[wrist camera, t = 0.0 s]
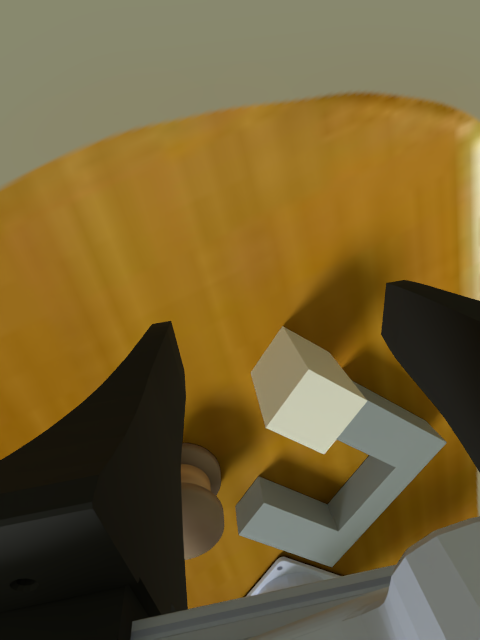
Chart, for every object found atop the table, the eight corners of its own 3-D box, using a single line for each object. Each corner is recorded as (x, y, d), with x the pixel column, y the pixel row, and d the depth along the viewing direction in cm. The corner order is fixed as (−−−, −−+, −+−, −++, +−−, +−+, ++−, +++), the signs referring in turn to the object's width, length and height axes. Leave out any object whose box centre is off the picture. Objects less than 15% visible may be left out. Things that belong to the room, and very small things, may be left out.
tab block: (296, 395, 25) (324, 454, 20) (250, 372, 24) (265, 427, 19) (329, 352, 24) (367, 400, 19) (282, 326, 23) (308, 369, 18)
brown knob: (196, 513, 28) (195, 570, 24) (127, 489, 27) (113, 545, 22) (234, 460, 27) (241, 511, 23) (164, 431, 25) (156, 480, 21)
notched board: (321, 538, 31) (331, 567, 28) (235, 506, 28) (238, 534, 26) (425, 420, 27) (446, 442, 25) (337, 372, 25) (351, 391, 23)
